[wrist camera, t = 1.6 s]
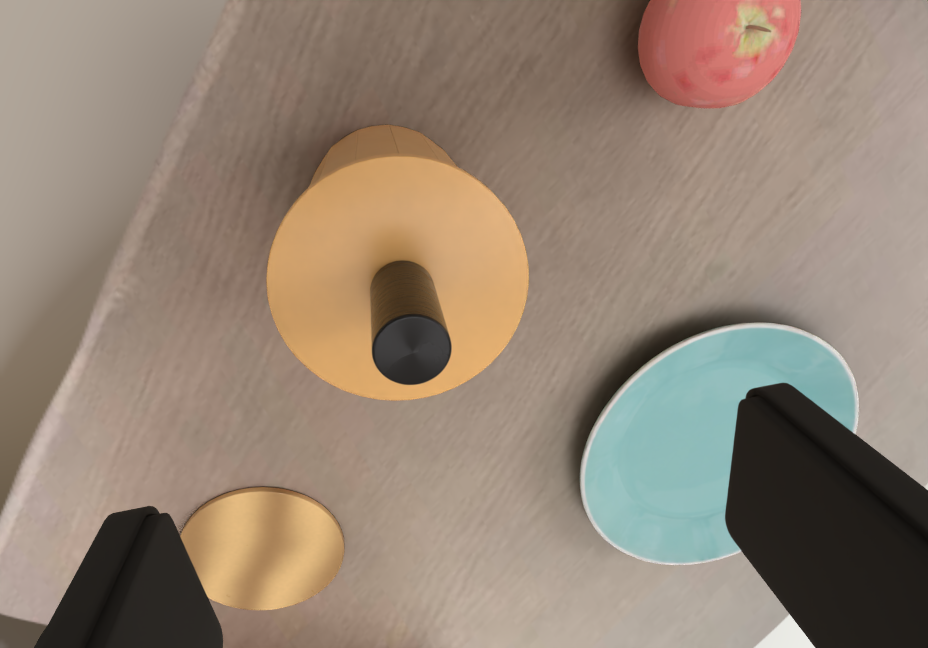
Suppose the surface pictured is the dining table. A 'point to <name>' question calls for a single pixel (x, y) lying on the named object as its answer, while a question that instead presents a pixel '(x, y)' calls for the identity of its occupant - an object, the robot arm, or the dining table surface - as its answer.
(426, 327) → the shaker lid
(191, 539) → the coaster
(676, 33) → the apple
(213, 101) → the dining table surface
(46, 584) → the dining table surface
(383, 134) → the cup
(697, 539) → the plate
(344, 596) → the dining table surface
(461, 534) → the dining table surface
